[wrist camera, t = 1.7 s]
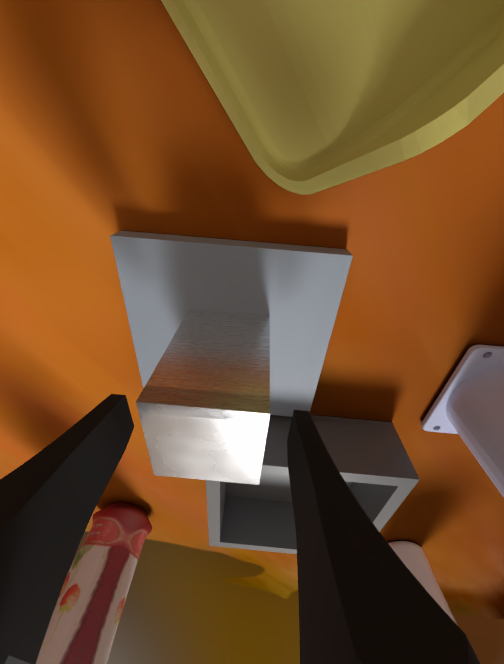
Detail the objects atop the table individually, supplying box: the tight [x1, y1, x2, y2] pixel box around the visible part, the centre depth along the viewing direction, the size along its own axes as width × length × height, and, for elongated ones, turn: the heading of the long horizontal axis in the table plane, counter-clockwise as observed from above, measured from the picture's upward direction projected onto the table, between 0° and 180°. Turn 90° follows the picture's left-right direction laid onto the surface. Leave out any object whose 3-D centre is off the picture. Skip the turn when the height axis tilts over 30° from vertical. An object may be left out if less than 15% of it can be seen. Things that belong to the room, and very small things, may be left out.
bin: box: [206, 415, 420, 554], centre depth 23 cm, size 14×14×4 cm
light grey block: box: [136, 309, 270, 485], centre depth 13 cm, size 5×5×7 cm
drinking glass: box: [388, 541, 457, 624], centre depth 27 cm, size 7×7×15 cm
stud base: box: [110, 231, 353, 417], centre depth 15 cm, size 12×12×6 cm
